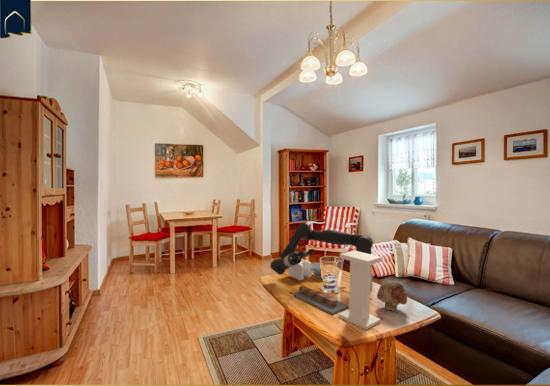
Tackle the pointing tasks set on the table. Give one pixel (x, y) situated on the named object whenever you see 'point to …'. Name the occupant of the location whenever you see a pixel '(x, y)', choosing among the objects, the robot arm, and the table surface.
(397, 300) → the sculpture
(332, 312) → the rubber mat
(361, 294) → the stand
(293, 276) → the cable organizer
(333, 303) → the walnut bar
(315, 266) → the chinaware
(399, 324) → the table surface
